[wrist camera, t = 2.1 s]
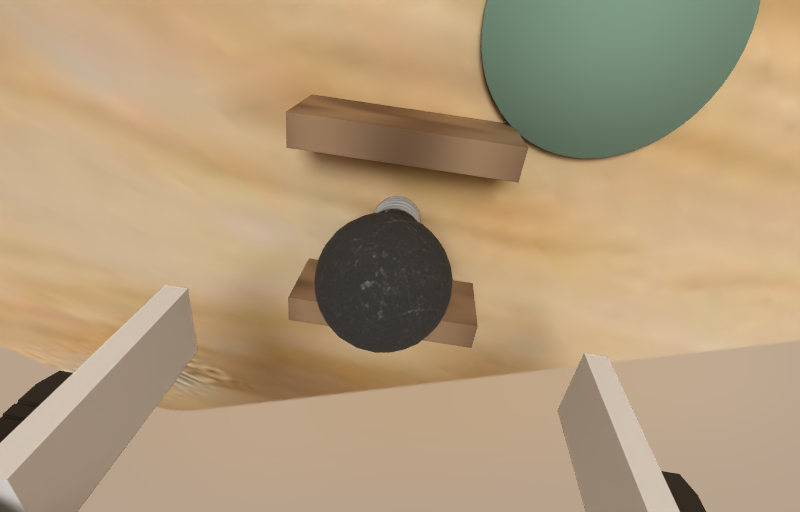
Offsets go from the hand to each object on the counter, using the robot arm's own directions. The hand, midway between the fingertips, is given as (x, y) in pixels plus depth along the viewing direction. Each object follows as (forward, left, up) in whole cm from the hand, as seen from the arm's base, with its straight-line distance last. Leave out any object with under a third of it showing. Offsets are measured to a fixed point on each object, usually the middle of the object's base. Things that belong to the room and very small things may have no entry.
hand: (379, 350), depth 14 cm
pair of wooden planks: (0, 0, -11) cm, 11 cm away
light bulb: (0, 0, -11) cm, 11 cm away
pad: (+8, +10, -11) cm, 17 cm away
